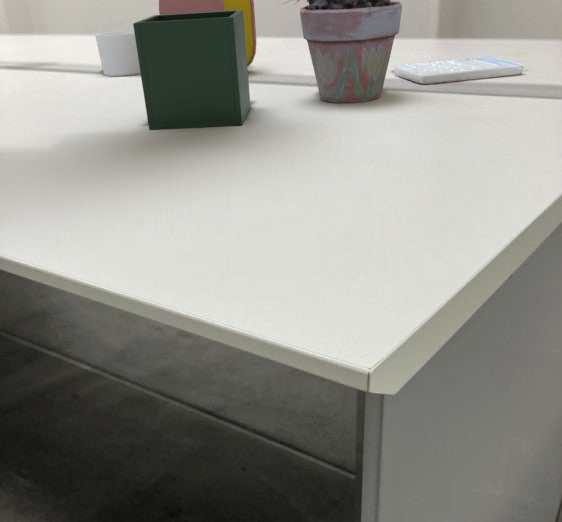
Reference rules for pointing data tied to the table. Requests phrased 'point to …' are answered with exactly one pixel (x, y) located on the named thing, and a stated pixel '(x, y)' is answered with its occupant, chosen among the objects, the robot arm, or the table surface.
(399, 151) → the table surface
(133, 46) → the mug
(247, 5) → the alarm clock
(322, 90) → the potted plant
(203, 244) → the table surface
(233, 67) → the trash can
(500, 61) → the calculator
